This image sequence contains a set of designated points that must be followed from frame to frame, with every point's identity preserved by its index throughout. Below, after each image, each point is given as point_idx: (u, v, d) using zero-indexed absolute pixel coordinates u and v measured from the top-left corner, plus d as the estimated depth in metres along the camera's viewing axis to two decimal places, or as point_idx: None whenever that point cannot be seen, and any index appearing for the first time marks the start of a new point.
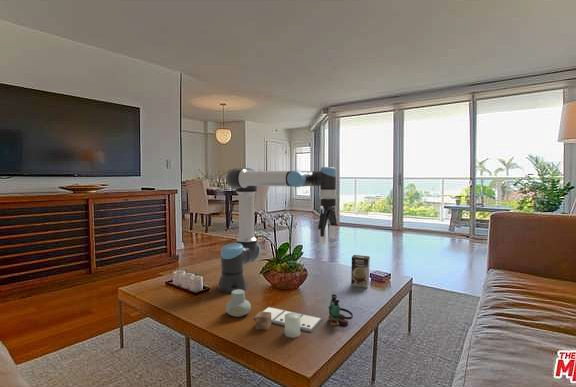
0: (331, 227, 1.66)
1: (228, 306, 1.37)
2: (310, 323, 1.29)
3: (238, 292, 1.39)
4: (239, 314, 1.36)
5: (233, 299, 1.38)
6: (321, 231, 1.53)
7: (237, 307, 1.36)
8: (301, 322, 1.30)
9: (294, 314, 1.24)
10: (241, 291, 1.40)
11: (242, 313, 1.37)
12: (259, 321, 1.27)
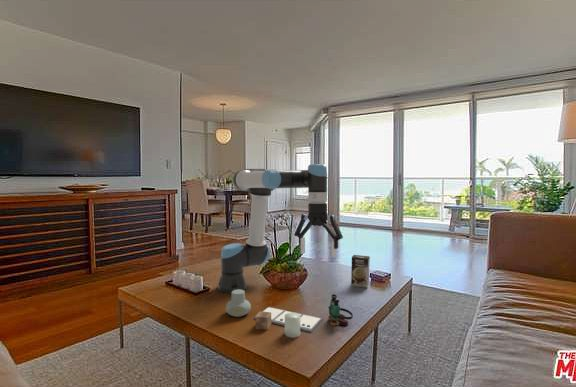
0: None
1: (228, 306, 1.37)
2: (310, 323, 1.29)
3: (238, 292, 1.39)
4: (239, 314, 1.36)
5: (233, 299, 1.38)
6: None
7: (237, 307, 1.36)
8: (301, 322, 1.30)
9: (294, 314, 1.24)
10: (241, 291, 1.40)
11: (242, 313, 1.37)
12: (259, 321, 1.27)
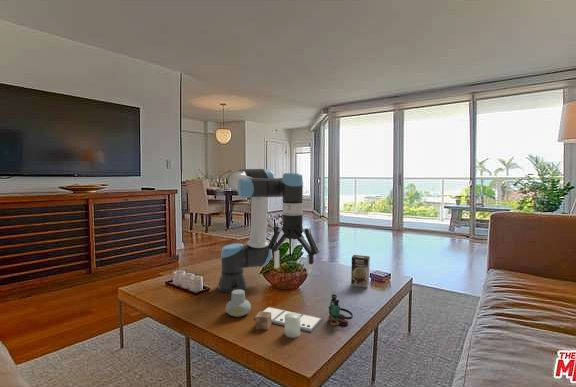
0: None
1: (228, 306, 1.37)
2: (310, 323, 1.29)
3: (238, 292, 1.39)
4: (239, 314, 1.36)
5: (233, 299, 1.38)
6: None
7: (237, 307, 1.36)
8: (301, 322, 1.30)
9: (294, 314, 1.24)
10: (241, 291, 1.40)
11: (242, 313, 1.37)
12: (259, 321, 1.27)
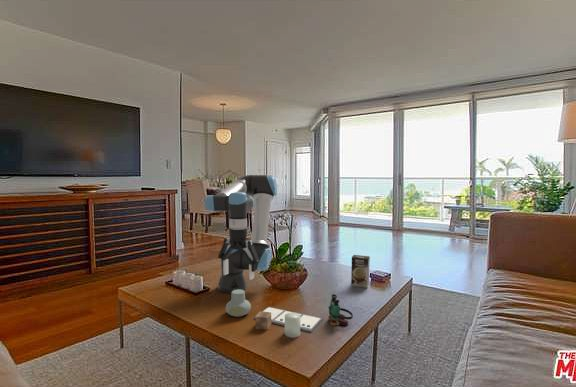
0: None
1: (228, 306, 1.37)
2: (310, 323, 1.29)
3: (238, 292, 1.39)
4: (239, 314, 1.36)
5: (233, 299, 1.38)
6: None
7: (237, 307, 1.36)
8: (301, 322, 1.30)
9: (294, 314, 1.24)
10: (241, 291, 1.40)
11: (242, 313, 1.37)
12: (259, 321, 1.26)
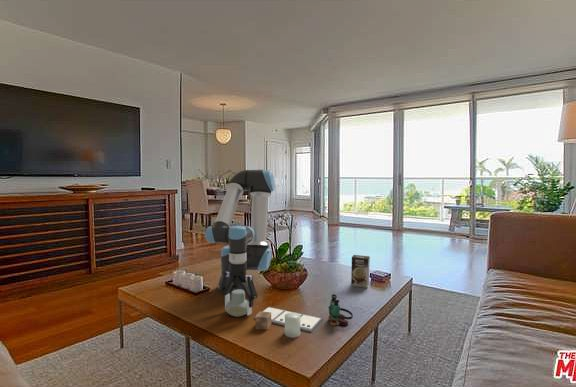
0: None
1: (228, 306, 1.37)
2: (310, 323, 1.29)
3: (238, 292, 1.39)
4: (239, 314, 1.36)
5: (233, 299, 1.38)
6: None
7: (237, 307, 1.36)
8: (301, 322, 1.30)
9: (294, 314, 1.24)
10: (241, 291, 1.40)
11: (242, 313, 1.36)
12: (259, 321, 1.27)
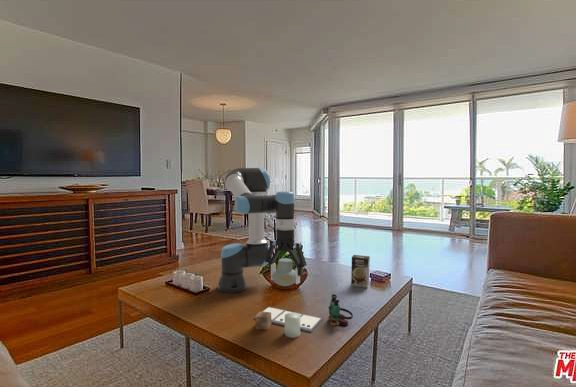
0: None
1: (275, 274, 1.31)
2: (310, 323, 1.29)
3: (286, 260, 1.32)
4: (287, 283, 1.30)
5: (281, 267, 1.31)
6: None
7: (285, 275, 1.30)
8: (301, 322, 1.30)
9: (294, 314, 1.24)
10: (288, 259, 1.34)
11: (290, 282, 1.30)
12: (259, 321, 1.27)
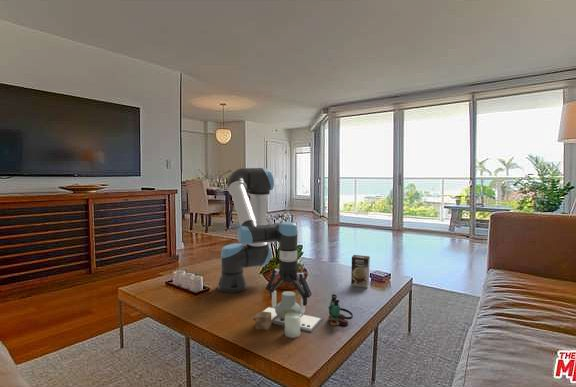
0: None
1: (279, 308, 1.32)
2: (310, 323, 1.29)
3: (289, 294, 1.33)
4: None
5: (284, 301, 1.32)
6: None
7: (288, 309, 1.31)
8: (301, 322, 1.30)
9: (294, 314, 1.24)
10: (292, 293, 1.35)
11: None
12: (259, 321, 1.27)
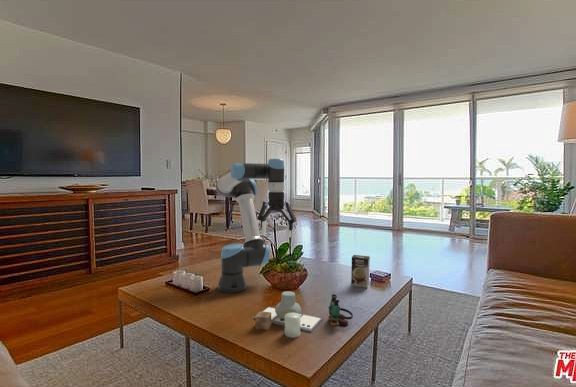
0: None
1: (279, 308, 1.32)
2: (310, 323, 1.29)
3: (289, 294, 1.33)
4: None
5: (284, 301, 1.32)
6: None
7: (288, 309, 1.31)
8: (301, 322, 1.30)
9: (294, 314, 1.24)
10: (291, 293, 1.35)
11: None
12: (259, 321, 1.27)
